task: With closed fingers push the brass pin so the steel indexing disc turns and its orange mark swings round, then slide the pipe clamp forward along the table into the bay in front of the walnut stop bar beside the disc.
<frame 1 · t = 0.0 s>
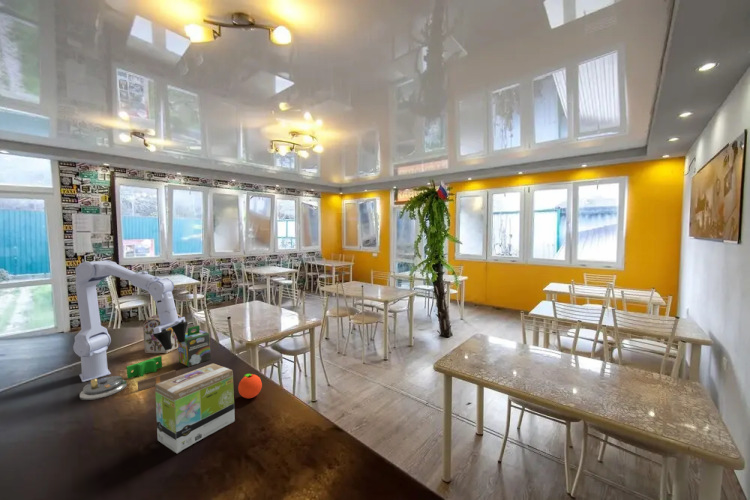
hand: (175, 345, 116), 11 cm above the table, tool pointing down, fingers open, 7 cm apart
chalk box: (195, 361, 128), on the table
index disc: (103, 380, 105), point 4 cm above the table, hinge at -40.0°
stop bar: (157, 384, 108), on the table
clementine: (250, 397, 97), on the table
tea box: (198, 431, 80), on the table
base plate: (104, 390, 105), on the table
pipe clamp: (146, 374, 118), on the table
decorative jar: (166, 349, 144), on the table
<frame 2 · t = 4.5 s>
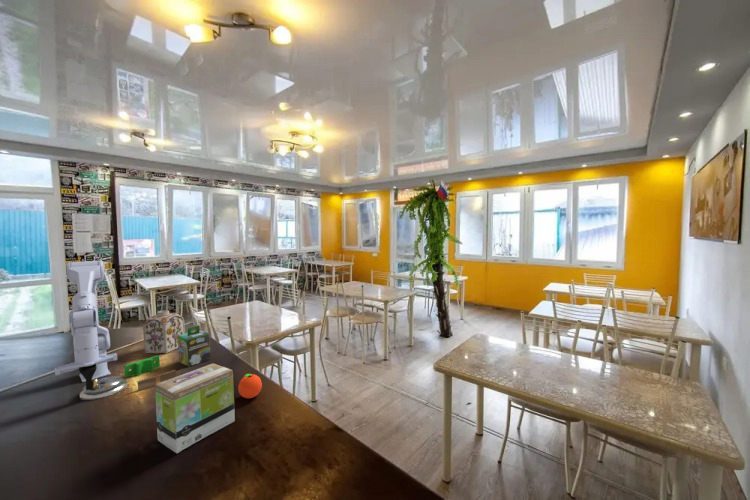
hand: (89, 388, 99), 3 cm above the table, tool pointing down, fingers closed, pressing on index disc
index disc: (103, 380, 105), point 4 cm above the table, hinge at -39.5°, touching gripper
pipe clamp: (144, 372, 119), on the table
everything else where it was.
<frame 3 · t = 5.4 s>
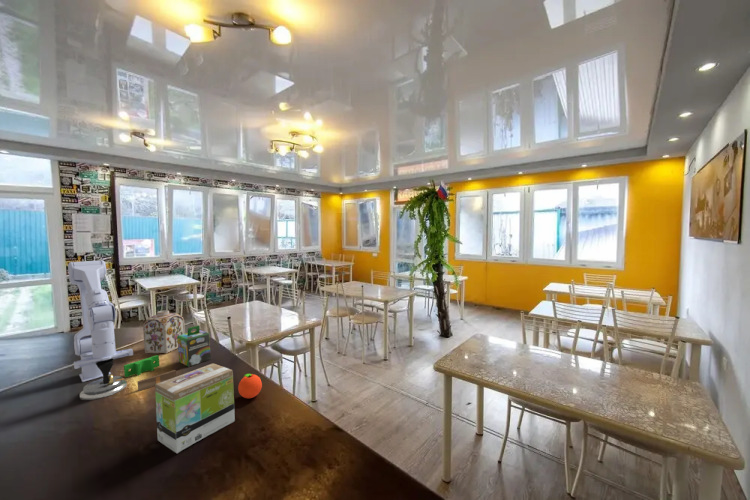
hand: (106, 382, 102), 4 cm above the table, tool pointing down, fingers closed, pressing on index disc
index disc: (103, 380, 105), point 4 cm above the table, hinge at 19.4°, touching gripper
everything else where it was.
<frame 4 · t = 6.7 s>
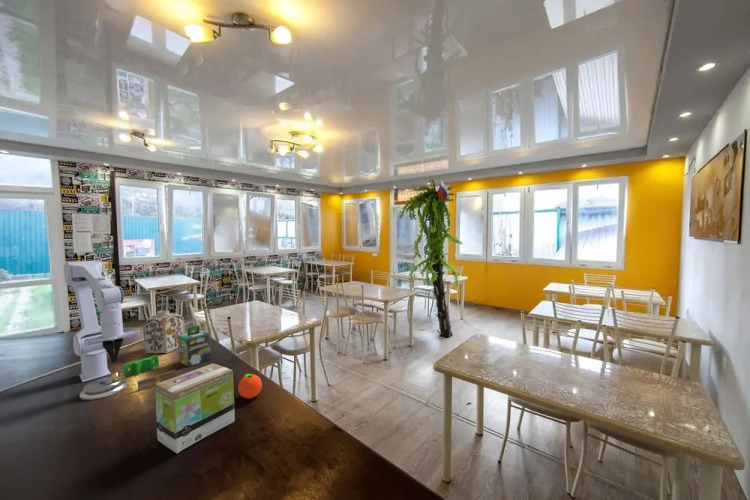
hand: (114, 361, 106), 9 cm above the table, tool pointing down, fingers closed
index disc: (103, 380, 105), point 4 cm above the table, hinge at 43.3°
everything else where it was.
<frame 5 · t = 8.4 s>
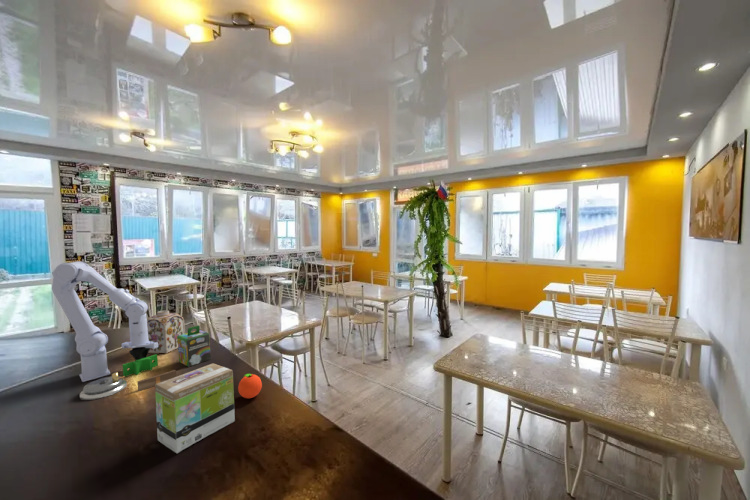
hand: (141, 365, 123), 1 cm above the table, tool pointing down, fingers closed
pipe clamp: (142, 371, 120), on the table, touching gripper
everything else where it was.
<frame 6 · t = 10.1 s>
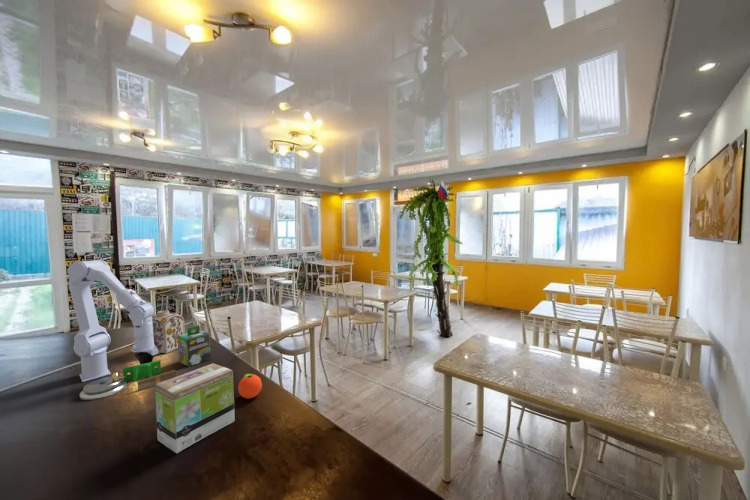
hand: (146, 370, 118), 1 cm above the table, tool pointing down, fingers closed
pipe clamp: (142, 377, 114), on the table, touching gripper
everything else where it was.
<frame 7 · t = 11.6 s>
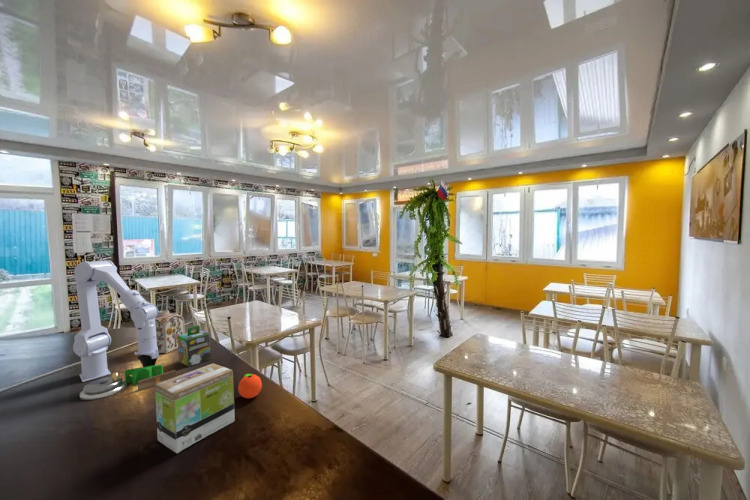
hand: (149, 373, 115), 1 cm above the table, tool pointing down, fingers closed
pipe clamp: (143, 381, 111), on the table, touching gripper
everything else where it was.
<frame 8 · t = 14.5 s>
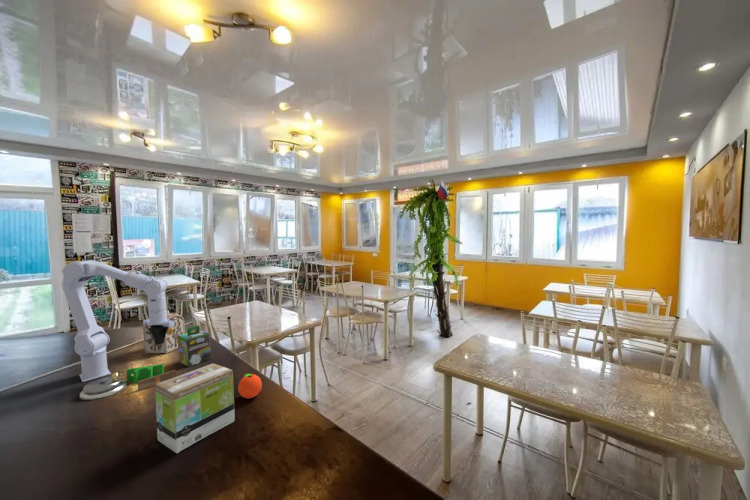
hand: (160, 343, 121), 10 cm above the table, tool pointing down, fingers closed
pipe clamp: (144, 380, 112), on the table
everything else where it was.
at the end: index disc at +43° (first picture: -40°); pipe clamp inside the target area (2.7 cm from its centre), on the table; pipe clamp moved 6.8 cm from its start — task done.
